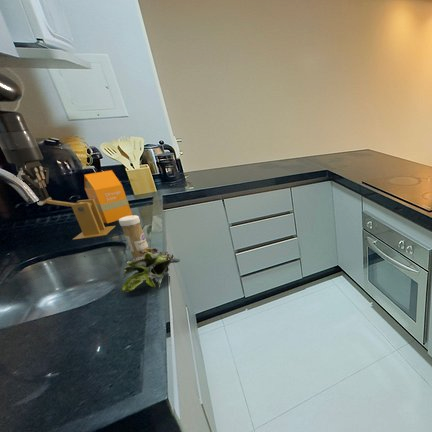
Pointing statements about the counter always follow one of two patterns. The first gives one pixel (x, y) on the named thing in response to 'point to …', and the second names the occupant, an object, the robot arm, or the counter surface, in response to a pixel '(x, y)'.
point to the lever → (56, 202)
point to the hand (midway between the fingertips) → (44, 198)
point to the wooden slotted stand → (89, 219)
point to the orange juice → (107, 195)
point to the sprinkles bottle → (134, 235)
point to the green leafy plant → (147, 268)
